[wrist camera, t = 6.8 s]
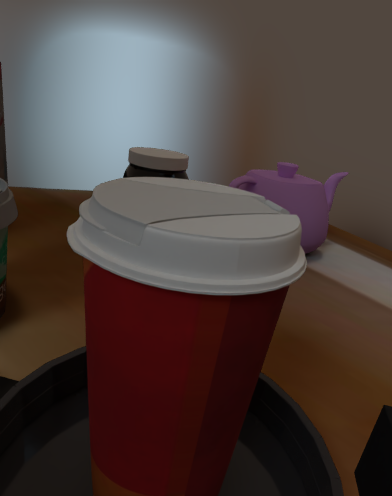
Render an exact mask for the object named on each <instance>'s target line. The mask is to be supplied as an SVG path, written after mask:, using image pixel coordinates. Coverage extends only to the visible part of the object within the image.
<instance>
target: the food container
mask: <svg viewBox="0 0 392 496" xmlns="http://www.w3.org/2000/svg"><path fill="white" fill-rule="evenodd" d="M17 216H18V210H17V207H16V204H15V200H14V197H13V193H12V192H11V190H10V189H8V184H7V183H6V181H4V180H3V179H1V178H0V318H1V316H2V315H3V313H4V312H5V303H6V269H7V236H8V225H10V224H11V223H12V222H13V221H15V220H16V218H17Z"/></svg>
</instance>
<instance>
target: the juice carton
mask: <svg viewBox="0 0 392 496" xmlns="http://www.w3.org/2000/svg"><path fill="white" fill-rule="evenodd" d="M3 109H4V108H3V90H2V74H1V62H0V178H1V179H3V180H4V181H6V183H7V184H8V180H7V162H6V144H5V127H4V111H3Z"/></svg>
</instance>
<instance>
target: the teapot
mask: <svg viewBox="0 0 392 496" xmlns="http://www.w3.org/2000/svg"><path fill="white" fill-rule="evenodd" d="M277 167H278V171H272V170H250V171H248V172H247V174H246V175H245V176H240V177H238V178H236V179H235V180H233V181H232V182H231V183H230V185H229V186H228V187H233V188H237V189H241V190H244V191H248V192H251V193H255V194H258V195H261V196H264V197H265V198H264V199H266V200H270V201H272V202H273V203H275V204H277V205H279V206H281V207H282V208H284V209H286V210H287V211H289V212H290V214H289V215H297V216H298V217H299V219H300V222H301V227H302V233H301V243H300V245H301V247H302V249H303V250H304V252H305V254H306V253H309V252H312V251H314V250H315V249H317V248H318V247H319V246H320V245H321V244H322V243H323V242H324V241H325V239H326V236H327V231H328V221H329V215H328V213H329V211H330V209H331V206H332V202H333V197H334V193H335V190H336V187H337V185H338V183H339V182H340V181H341V179H343V178H344V177H345V176H346V175H348V172H341V173H336V174H333V175H332V176H331V177H330V178H329V179H328V180H327V181H326V183H325V184H324V186H323V184H322V183H321V182H319V181H317V180H314V179H311V178H308V177H305V176H301V175H298V174H295V173H296V171H297V170H298V168H299V167H298V165H296V164H292V163H286V162H278V163H277Z"/></svg>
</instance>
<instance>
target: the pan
mask: <svg viewBox="0 0 392 496" xmlns="http://www.w3.org/2000/svg"><path fill="white" fill-rule="evenodd" d="M15 386H16V387H14V386H13V387H12V388H11V389H10V390H9V391H8V392H7V393H6V394H5V395H4V396H3V397H2V398H1V399H0V496H93V486H92V471H91V450H90V428H89V403H88V377H87V350H86V346H85V347H82V348H79V349H77V350H74V351H72V352H70V353H67V354H65V355H63V356H61V357H58V358H56V359H54V360H51V361H49V362H47V363H45V364H44V365H43V366H41V367H40V368H38V369H37V370H35V371H34V372H32V373H31V374H29V375H28V376H26V377H25V378H23V379H22V380H20V381H19V382H18V383H17V384H15ZM218 496H344V494H343V489H342V483H341V480H340V476H339V474H338V472H337V469H336V467H335V465H334V463H333V460H332V458H331V456H330V454H329V451H328V449H327V447H326V444H325V442H324V440H323V438H322V436H321V435H320V433H319V432H318V431H317V429H316V428H315V427H314V425H313V424H312V422H311V421H310V420H309V418H308V417H307V415H306V414H305V413H304V411H303V410H302V409H301V407H300V406H299V405H298V404H297V403H296V402H295V401H294V400H293V399H292V398H291V397H290V396H289V395H288V394H287V393H286V392H285V391H284V390H283V389H281V388H280V387H279V386H278V385H277V384H276V383H275V382H274V381H273V380H272V379H270V378H269V377H267V376H266V375H264V374H263V373H261V372H260V375H259V378H258V381H257V383H256V386H255V389H254V392H253V395H252V398H251V401H250V404H249V407H248V410H247V413H246V416H245V419H244V422H243V425H242V428H241V431H240V434H239V437H238V440H237V443H236V446H235V449H234V452H233V454H232V457H231V460H230V463H229V466H228V469H227V472H226V475H225V478H224V480H223V483H222V486H221V489H220V492H219V494H218Z"/></svg>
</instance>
